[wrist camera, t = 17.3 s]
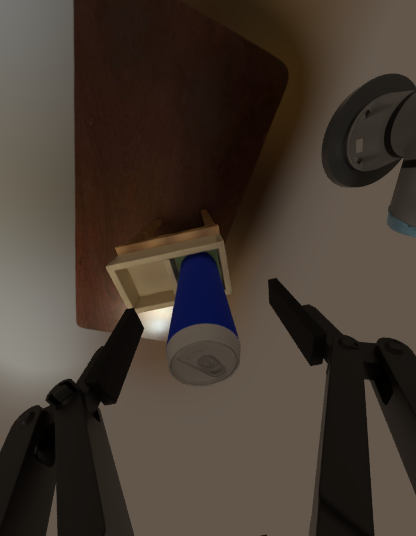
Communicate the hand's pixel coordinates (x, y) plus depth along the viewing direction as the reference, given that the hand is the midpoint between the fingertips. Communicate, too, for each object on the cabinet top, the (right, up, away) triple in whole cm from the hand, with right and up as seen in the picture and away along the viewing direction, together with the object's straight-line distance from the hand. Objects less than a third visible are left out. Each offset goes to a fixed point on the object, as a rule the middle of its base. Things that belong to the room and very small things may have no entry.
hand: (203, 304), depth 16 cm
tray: (-4, +4, +9) cm, 11 cm away
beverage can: (-1, +4, +8) cm, 9 cm away
